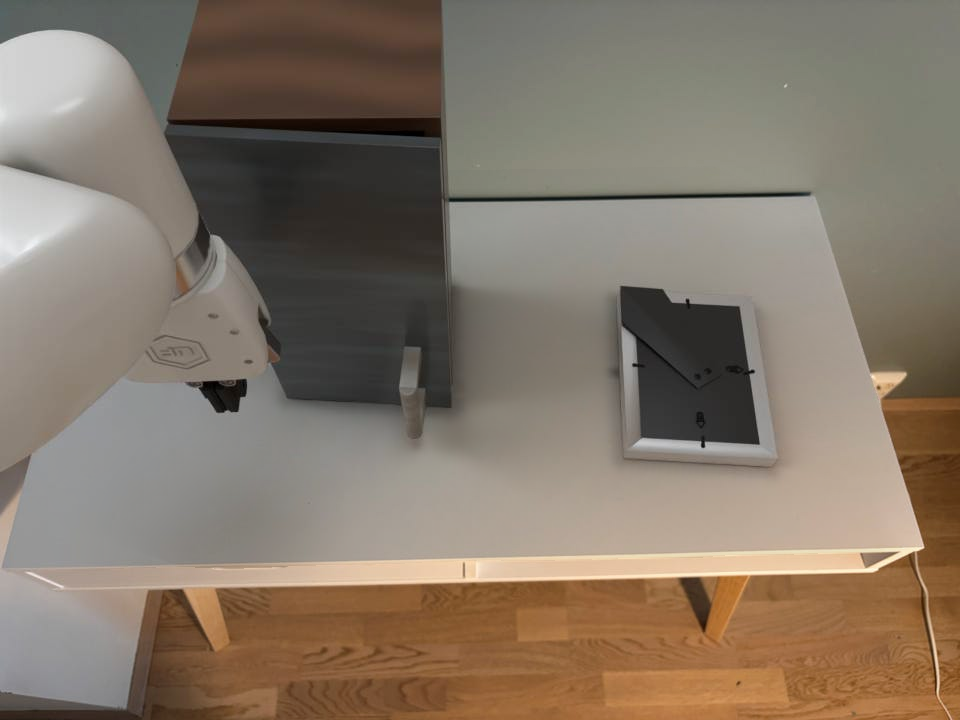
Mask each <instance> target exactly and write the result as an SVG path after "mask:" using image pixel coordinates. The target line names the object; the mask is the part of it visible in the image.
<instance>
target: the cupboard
mask: <svg viewBox="0 0 960 720" xmlns="http://www.w3.org/2000/svg"><path fill="white" fill-rule="evenodd" d="M193 16H194V17H193V21H192V23H191V28H190V31H189V35H188V38H187V42H186V46H185V50H184V54H183V57H182V60H181V65H180V68H179V72H178V76H177V79H176V82H175V87H174V90H173V94H172V97H171V101H170V104H169V109H168V112H167V116H166V119H165V120H166V122H167V124H171V125H191V126H211V127H231V128H252V129H272V130H292V131H312V132H332V133H352V134H372V135H392V136H412V137H432V138H441V153H442V175H443V198H444V220H445V243H446V265H447V288H448V310H449V333H450V355H451V378H452V387H453V385H454V384H453V383H454V380H453V375H454V373H453V368H454V367H453V276H452V275H453V273H452V250H451V249H452V247H451V244H452V243H451V218H450V217H451V215H450V187H449V186H450V185H449V164H448V163H449V160H448V135H447V130H448V129H447V107H446V106H447V103H446V77H445V76H446V75H445V51H444V50H445V49H444V48H445V46H444V45H445V44H444V23H443V22H444V20H443V0H198V2H197V5H196V9H195V12H194V15H193Z"/></svg>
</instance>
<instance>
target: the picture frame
mask: <svg viewBox="0 0 960 720" xmlns="http://www.w3.org/2000/svg"><path fill="white" fill-rule="evenodd" d="M619 288H620V289H618V292H617V296H616V316H617V317H616V319H617V320H616V321H617V343H618V345H617V347H618V366H619V386H620V387H619V390H620V391H619V392H620V409H621V410H620V411H621V412H620V413H621V436H622V437H621V439H622V458H623V459H629V460H646V461H648V460H649V461H666V462H679V463H696V464H697V463H699V464H713V465H715V464H716V465H732V466H748V467H749V466H750V467H765V468H772V467H773V466H774V465H775V463H777V461H778V460H779V457H778V451H777V445H776V444H777V443H776V439H775V432H774V425H773V419H772V413H771V406H770V400H769V394H768V388H767V380H766V375H765V368H764V361H763V356H762V355H763V354H762V349H761V344H760V343H761V342H760V336H759V331H758V330H759V329H758V325H757V324H758V323H757V318H756V311H755V305H754V297H753V296H747V295H746V296H745V295H727V294H708V293H690V292H689V293H688V292H671V291H665V290H664V289H663V288H658V287H657V288H656V287H643V286H642V287H641V286H630V285H629V286H626V285H620V287H619Z"/></svg>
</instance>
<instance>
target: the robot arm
mask: <svg viewBox="0 0 960 720" xmlns="http://www.w3.org/2000/svg"><path fill="white" fill-rule="evenodd" d="M270 325H271V318H270V314H269V312H268V309H267V307H266V305H265V303H264V300H263V298H262V296H261V294H260V292H259V291H258V289H257V287H256V285H255V283H254V282H253V280H252V278H251V277H250V275H249V274H248V272H247V270H246V269H245V267H244V266H243V265H242V263H241V262H240V260H239V259H238V258H237V256H236V255H235V254H234V253H233V251H232V250H231V249H230V248H229V247H228V246H227V244H226V243H225V242H224V241H223V240H222V239H221V238H220V237H219V236H216V235H211V234H210V233H209V231H208V229H207V227H206V224H205V222H204V220H203V218H202V216H201V214H200V212H199V209H198V207H197V205H196V203H195V201H194V199H193V197H192V194H191V192H190V190H189V188H188V186H187V184H186V181H185V179H184V177H183V175H182V173H181V171H180V168H179V166H178V164H177V162H176V160H175V158H174V155H173V153H172V151H171V149H170V147H169V145H168V142H167V140H166V138H165V136H164V131H163V129H162V127H161V125H160V123H159V121H158V119H157V116H156V114H155V111H154V110H153V107H152V105H151V103H150V101H149V99H148V96H147V94H146V92H145V89H144V87H143V85H142V84H141V81H140V80H139V78H138V76H137V74H136V72H135V71H134V69H133V67H132V65H131V63H130V62H129V61H128V60H127V59H126V57H125V56H124V55H123V54H121V52H120V51H118V49H116V48H115V47H114V45H111V44H110V43H108V42H106V41H105V40H103V39H101V38H99V37H97V36H95V35H92V34H90V33H86V32H81V31H77V30H67V29H47V30H38V31H32V32H29V33H25V34H21V35H18V36H16V37H13V38H10V39H8V40H6V41H4V42H1V43H0V472H3V471H5V470H8V469H9V468H11V467H13V466H14V465H15V464H18V463H19V462H21V461H23V460H24V459H26V458H27V457H29V456H31V455H33V454H34V453H35V452H37V451H38V450H40V449H41V448H43V447H44V446H45V445H46V444H48V443H49V442H51V441H52V440H53V439H55V438H56V437H57V436H58V435H59V434H61V433H62V432H63V431H64V430H66V429H67V428H68V427H70V426H71V425H72V424H73V423H74V422H75V421H76V420H77V419H78V418H80V417H81V416H82V414H83V413H85V412H86V411H88V409H89V408H91V407H92V406H93V405H94V404H95V403H96V402H97V401H99V399H101V398H102V397H103V396H104V395H105V394H106V393H107V392H108V391H109V390H110V389H111V388H113V387H114V385H115V384H117V382H119V381H120V380H121V379H122V378H125V379H127V380H128V381H131V382H135V383H142V384H143V383H144V384H161V383H164V384H165V383H168V384H169V383H184V384H185V385H186V386H188V387H190V388H193V389H199V392H200V393H201V394H202V396H203V397H204V399H205V400H207V401H208V402H209V403H210V405H211V407H212V408H213V409H214V411H215V412H216V414H224V413H225V412H230V413H238V412H239V411H240V403H241V398H246V396H247V393H248V380H247V379H251V378H254V377H257V376H260V375H261V374H264V373H265V372H266V371H267V367H268V364H269V363H270V364H271V362H276V361H279V360H280V352H281V343H280V342H279V341H278V340H277V339H276V338H275V337H274V335H273V334H272V333H271V332H270V331H269V330H268V329H267V327H269V326H270Z"/></svg>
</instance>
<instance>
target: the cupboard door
mask: <svg viewBox="0 0 960 720" xmlns="http://www.w3.org/2000/svg"><path fill="white" fill-rule="evenodd" d="M163 134H164V136H165V138H166V140H167V142H168V145H169V147H170V149H171V151H172V153H173V155H174V158H175V160H176V162H177V164H178V166H179V168H180V171H181V173H182V175H183V177H184V179H185V181H186V184H187V186H188V188H189V190H190V192H191V194H192V197H193V199H194V201H195V204H196V205H197V207H198V210H199V212H200V214H201V216H202V218H203V221H204V223H205V225H206V227H207V229H208V231H209V234H211V235H216V236H219V237H220V238H221V239H222V240H223V241H224V242H225V243H226V244H227V246H228V247H229V248H230V249H231V250H232V251H233V253H234V254H235V255H236V256H237V258H238V259H239V260H240V262H241V263H242V265H243V266H244V267H245V269H246V270H247V272H248V274H249V275H250V277H251V278H252V280H253V282H254V283H255V285H256V287H257V289H258V291H259V292H260V294H261V296H262V298H263V300H264V303H265V305H266V307H267V309H268V312H269V314H270V318H271V325H270V326H269V327H267V329H268V330H269V331H270V332H271V333H272V334H273V335H274V337H275V338H276V339H277V340H278V341H279V342H280V343H281V352H280V360H279V361H276V362H271V363H270V364H271V367H272V369H273V371H274V373H275V376H276V378H277V380H278V382H279V384H280V386H281V388H282V390H283V393H284V395H285V397H286V398H287V399H299V400H318V401H319V400H320V401H322V400H323V401H335V402H336V401H337V402H352V403H353V402H354V403H355V402H356V403H372V404H373V403H374V404H387V405H389V404H390V405H401V407H402V414H403V418H404V425H405V431H406V435H407V437H408V438H409V439H411V440H415V441H416V440H419V439H420V438H421V437H422V436H423V431H424V422H425V412H426V406H427V407H443V408H452V407H453V386H452V378H451V355H450V333H449V310H448V288H447V265H446V243H445V220H444V198H443V175H442V153H441V138H432V137H412V136H392V135H372V134H352V133H332V132H312V131H292V130H272V129H252V128H231V127H211V126H191V125H171V124H168V123H167V124H166V127H165V128H164V131H163Z"/></svg>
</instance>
